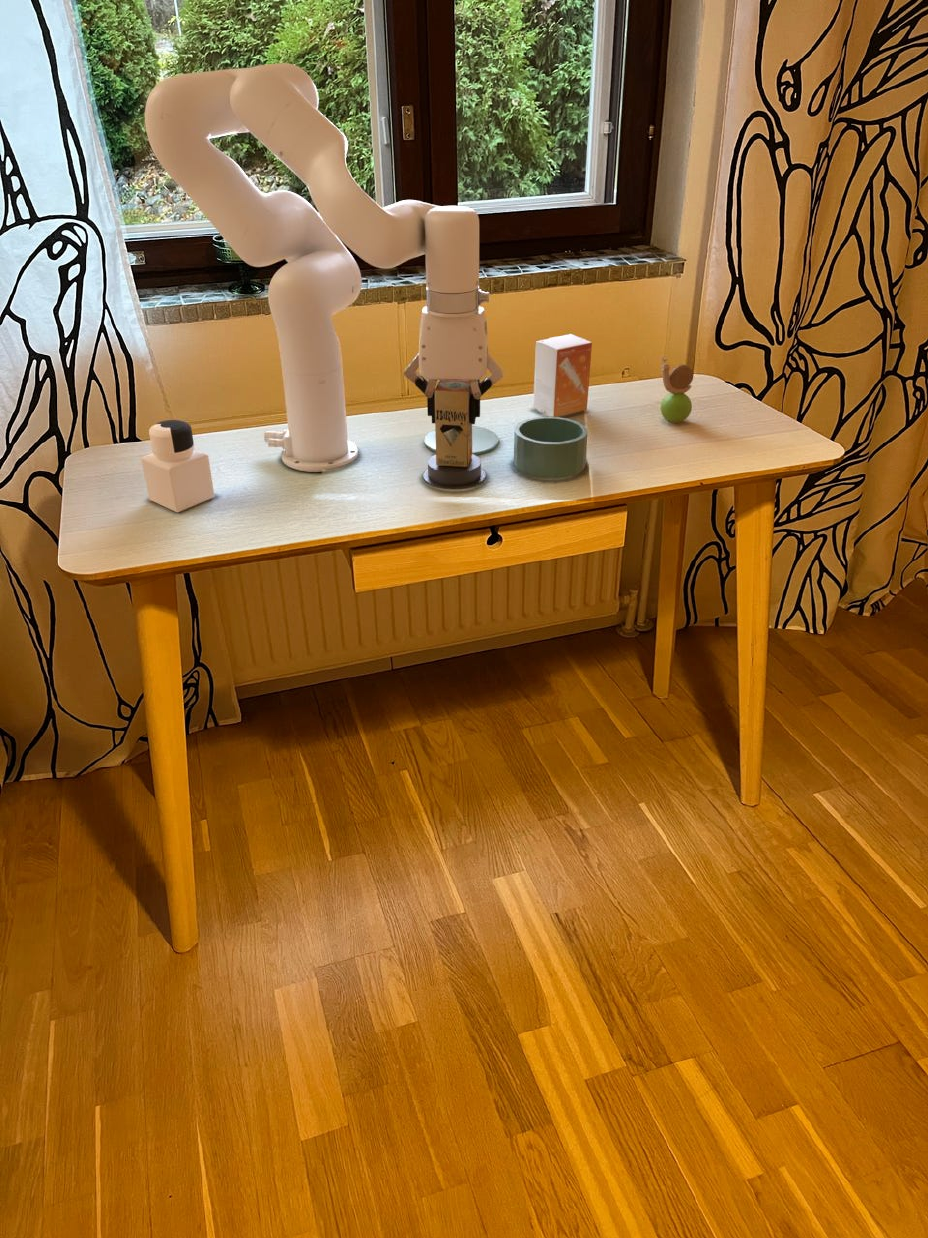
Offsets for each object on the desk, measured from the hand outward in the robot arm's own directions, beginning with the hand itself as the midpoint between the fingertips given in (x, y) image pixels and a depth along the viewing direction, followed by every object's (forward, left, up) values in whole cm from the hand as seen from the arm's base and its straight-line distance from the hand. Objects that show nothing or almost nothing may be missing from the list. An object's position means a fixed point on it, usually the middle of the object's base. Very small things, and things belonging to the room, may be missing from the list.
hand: (454, 419), depth 149 cm
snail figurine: (+37, +27, -10) cm, 47 cm away
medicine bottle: (-41, -10, -10) cm, 43 cm away
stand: (0, 0, -10) cm, 10 cm away
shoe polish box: (0, 0, -7) cm, 7 cm away
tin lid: (0, +14, -9) cm, 17 cm away
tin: (+15, +6, -10) cm, 19 cm away
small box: (+17, +31, -10) cm, 37 cm away
